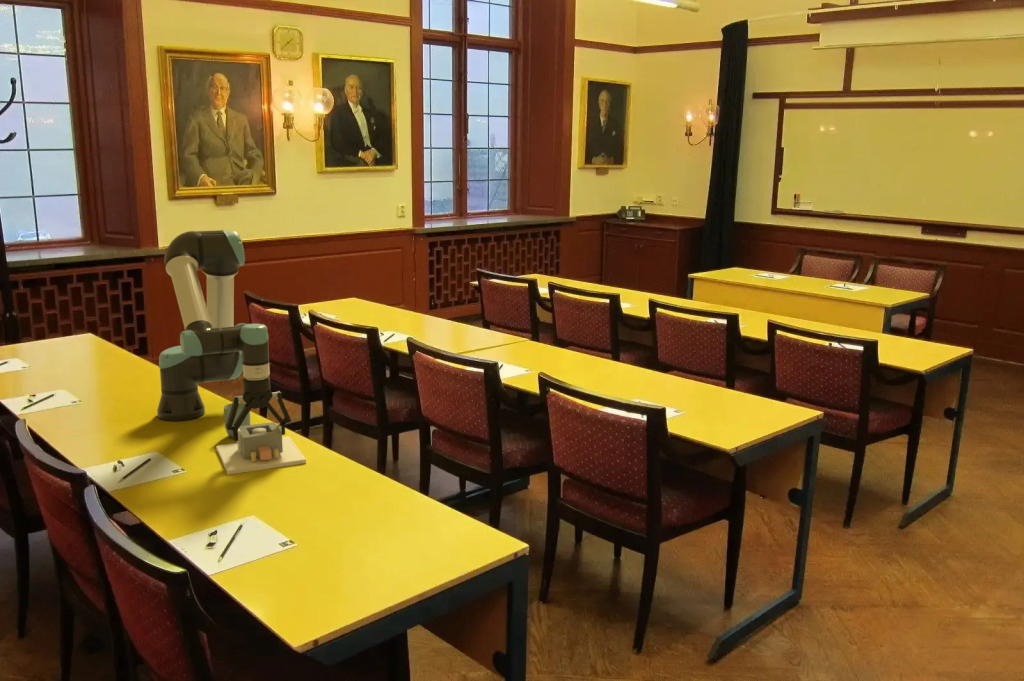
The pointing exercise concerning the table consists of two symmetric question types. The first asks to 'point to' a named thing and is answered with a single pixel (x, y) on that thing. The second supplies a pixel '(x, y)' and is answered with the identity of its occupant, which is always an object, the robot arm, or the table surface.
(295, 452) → the post block
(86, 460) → the table surface
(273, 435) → the grey hollow box
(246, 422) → the cup
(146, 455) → the table surface
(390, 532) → the table surface
